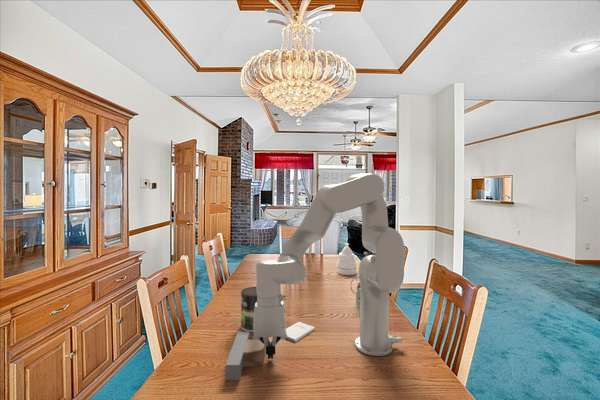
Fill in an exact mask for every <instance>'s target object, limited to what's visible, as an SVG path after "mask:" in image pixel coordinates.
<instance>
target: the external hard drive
mask: <svg viewBox="0 0 600 400" xmlns="http://www.w3.org/2000/svg"><path fill="white" fill-rule="evenodd" d="M313 331H316V327H315V326H313V325H309V324H308V323H304V322H301V321H298V322H296V323H294V324H293V325H290V326H289V327H286V333H287V338H285V340H289V341H290V342H293V343H297V342H298V341H300V340H302V339H303V338H304V337H306V336H308V335H310V333H313Z"/></svg>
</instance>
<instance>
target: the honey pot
mask: <svg viewBox="0 0 600 400" xmlns="http://www.w3.org/2000/svg"><path fill="white" fill-rule="evenodd" d="M344 245H345V246H344V247H343V249H342V250H341V252H339V253H338V255H339V257H338V258H337V262H336V273H337V274H340V275H344V276H345V275H346V276H347V275H348V276H353V275H357V274H358V273H357V270H358V269H357V268H358V267H357V266H358V264H357V262H356V258H355V253H353V251H352V249H351V248H350V246H349V245H350V243H345V242H344Z"/></svg>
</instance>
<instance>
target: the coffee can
mask: <svg viewBox="0 0 600 400" xmlns="http://www.w3.org/2000/svg"><path fill="white" fill-rule="evenodd" d="M240 293H241V295H240V296H241V299H240V303H241V305H240V306H241V307H240V308H241V309H240V310H241V311H240V312H241V313H240V314H241V315H240V317H241V320H240V328H241V330H242V331H243V332H249V333H254V332H253V322H254V308H255V303H256V302H257V286H249V287H245V288H243V289H241V290H240Z"/></svg>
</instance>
